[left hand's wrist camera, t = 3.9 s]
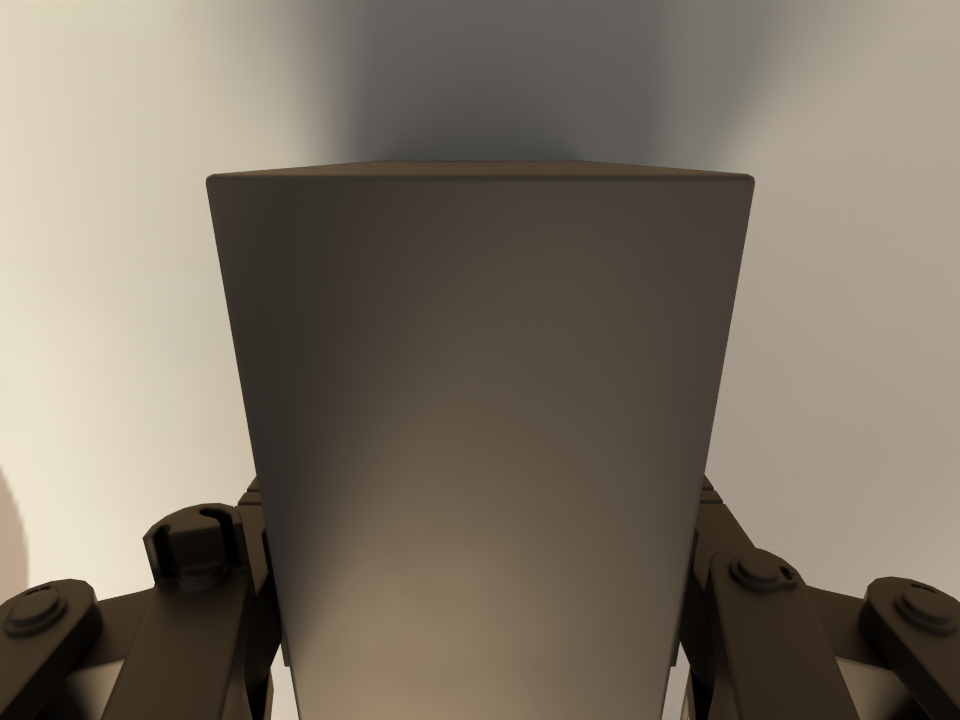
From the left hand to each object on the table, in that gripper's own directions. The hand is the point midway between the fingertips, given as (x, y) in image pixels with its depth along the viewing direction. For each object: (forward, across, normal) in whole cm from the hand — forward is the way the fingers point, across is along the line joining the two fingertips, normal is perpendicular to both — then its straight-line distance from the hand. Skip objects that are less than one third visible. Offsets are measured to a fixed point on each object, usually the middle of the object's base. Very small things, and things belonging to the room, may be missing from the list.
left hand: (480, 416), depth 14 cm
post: (+1, 0, -27) cm, 27 cm away
